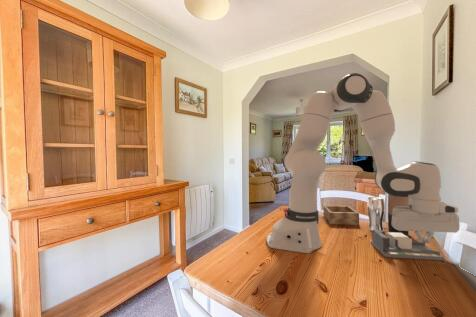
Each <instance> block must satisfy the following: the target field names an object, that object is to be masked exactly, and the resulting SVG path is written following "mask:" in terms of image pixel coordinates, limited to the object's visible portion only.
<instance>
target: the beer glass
mask: <svg viewBox="0 0 476 317" xmlns="http://www.w3.org/2000/svg"><path fill="white" fill-rule="evenodd" d="M385 206H386V205H385V198H382V197H376V196H375V197H374V196H373V197H372V196H370V197H367V202H366V210H367V216H368V226H367V229H368V230H370V231H372V232H373V230H379V231H380V232H381V233H383V232H384V226H383V222H384V216H385V208H386V207H385Z"/></svg>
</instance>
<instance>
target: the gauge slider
mask: <svg viewBox="0 0 476 317" xmlns="http://www.w3.org/2000/svg"><path fill="white" fill-rule="evenodd" d="M386 236H387V237H388V238H389V245H390V246H391V247H393V248H398V249H399V250H401V249H412V242H413V239H412V238H411V237H409V236H406V235H404V234H403V233H394V232H389V231H388V232H386Z"/></svg>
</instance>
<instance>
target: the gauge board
mask: <svg viewBox="0 0 476 317" xmlns="http://www.w3.org/2000/svg"><path fill="white" fill-rule="evenodd" d="M370 244H371V245H372V246H373V247H374V248H375V249H376V250H378V252H379V253H381V254H382V256H384V257H385V258H396V259H397V258H398V259H400V258H401V259H413V260H431V261H444V260H445V259H444V257H445V256H443V255H441V254H440V251H439V249H438V250H434V249H432V248H430V247H428V246H427V245H426V243H420V242H418V241H412V249H401V250H399V249H398V248H393V247H391V246H390V245H389V252H383V248H382V250H381V249H380V248H379V247H378V246H376V245H375V244H374V240H373V239H372V240H370Z"/></svg>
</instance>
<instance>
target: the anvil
mask: <svg viewBox="0 0 476 317" xmlns="http://www.w3.org/2000/svg"><path fill="white" fill-rule="evenodd" d="M372 240H374V244H375V245H376V246H378V247H379V248H380V249H381V250H382V248H383V252H389V238H388V237H387V235H386V234H385V233H383V232H380V231H379V230H373V231H372Z"/></svg>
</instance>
